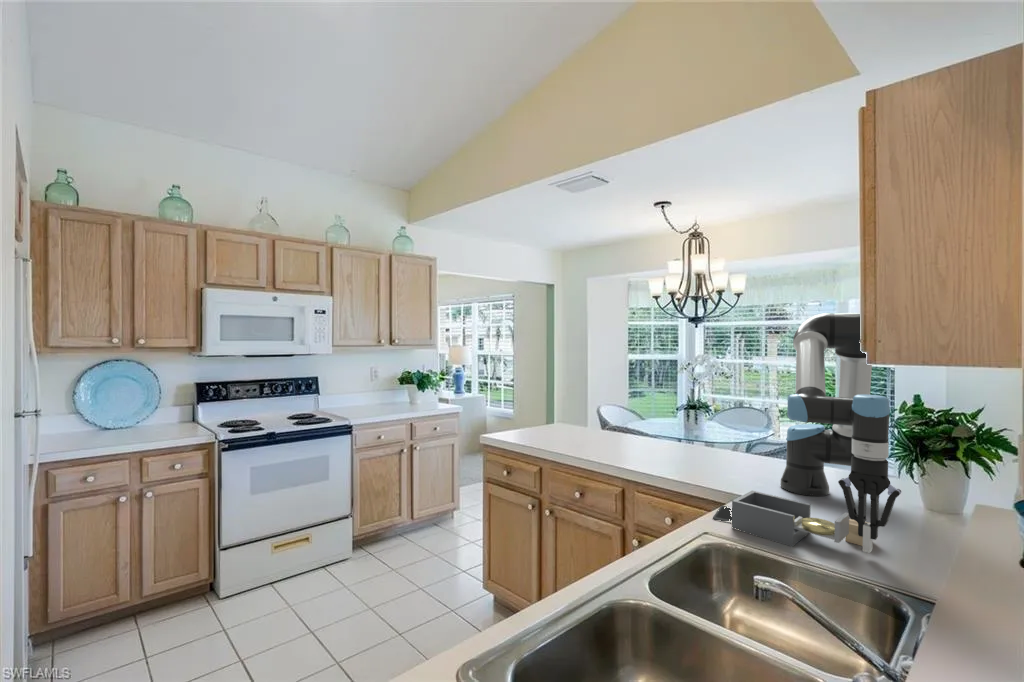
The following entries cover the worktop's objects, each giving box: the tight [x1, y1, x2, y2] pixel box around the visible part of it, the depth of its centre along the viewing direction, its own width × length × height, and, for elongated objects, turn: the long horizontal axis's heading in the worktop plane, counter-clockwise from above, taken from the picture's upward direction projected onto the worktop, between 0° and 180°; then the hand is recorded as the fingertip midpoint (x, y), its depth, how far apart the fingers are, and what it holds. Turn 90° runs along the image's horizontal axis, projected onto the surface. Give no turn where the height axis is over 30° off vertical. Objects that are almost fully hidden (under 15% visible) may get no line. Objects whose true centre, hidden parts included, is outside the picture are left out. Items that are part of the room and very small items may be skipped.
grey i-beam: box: [794, 512, 850, 544], centre depth 133 cm, size 9×14×5 cm, turn 43°
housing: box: [731, 490, 812, 547], centre depth 142 cm, size 14×16×8 cm
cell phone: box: [712, 505, 732, 522], centre depth 153 cm, size 7×14×1 cm, turn 146°
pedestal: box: [845, 518, 869, 547], centre depth 134 cm, size 5×5×5 cm
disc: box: [802, 517, 835, 535], centre depth 133 cm, size 8×8×2 cm
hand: (867, 550), depth 125 cm, fingers closed
